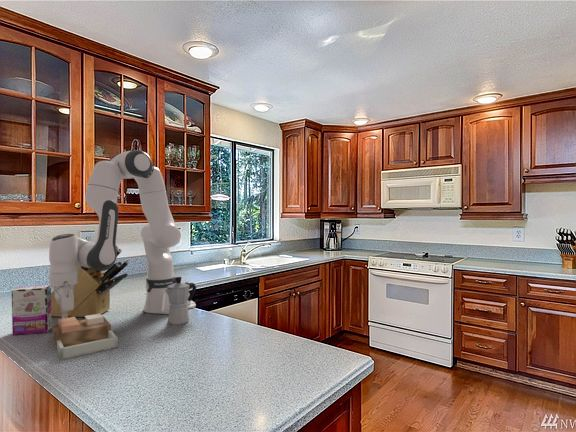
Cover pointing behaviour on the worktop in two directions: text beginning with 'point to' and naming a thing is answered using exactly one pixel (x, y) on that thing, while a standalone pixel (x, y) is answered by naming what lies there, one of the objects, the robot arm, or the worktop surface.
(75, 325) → the tile
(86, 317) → the tile
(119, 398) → the worktop surface
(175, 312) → the coffee maker
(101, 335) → the wooden box
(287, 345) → the worktop surface
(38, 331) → the candy bar box
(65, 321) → the tile
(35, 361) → the worktop surface
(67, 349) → the tray
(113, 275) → the knife block
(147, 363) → the worktop surface
